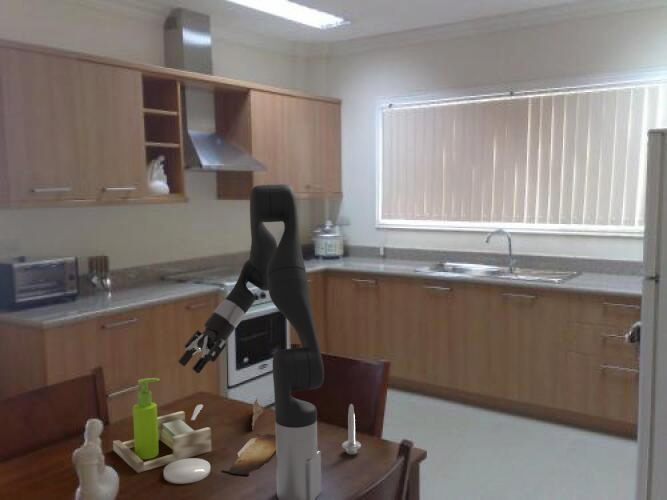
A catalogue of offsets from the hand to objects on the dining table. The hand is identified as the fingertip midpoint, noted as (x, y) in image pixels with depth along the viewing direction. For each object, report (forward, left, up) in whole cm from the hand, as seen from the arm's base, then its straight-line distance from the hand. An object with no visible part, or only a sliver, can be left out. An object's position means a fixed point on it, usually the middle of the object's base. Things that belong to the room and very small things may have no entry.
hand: (187, 367), depth 165 cm
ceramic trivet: (-10, +16, -21) cm, 28 cm away
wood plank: (-9, -20, -21) cm, 31 cm away
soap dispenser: (+6, +10, -21) cm, 24 cm away
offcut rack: (+4, +8, -21) cm, 22 cm away
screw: (-43, -9, -21) cm, 49 cm away
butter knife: (+9, -14, -21) cm, 27 cm away
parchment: (-20, 0, -21) cm, 29 cm away
